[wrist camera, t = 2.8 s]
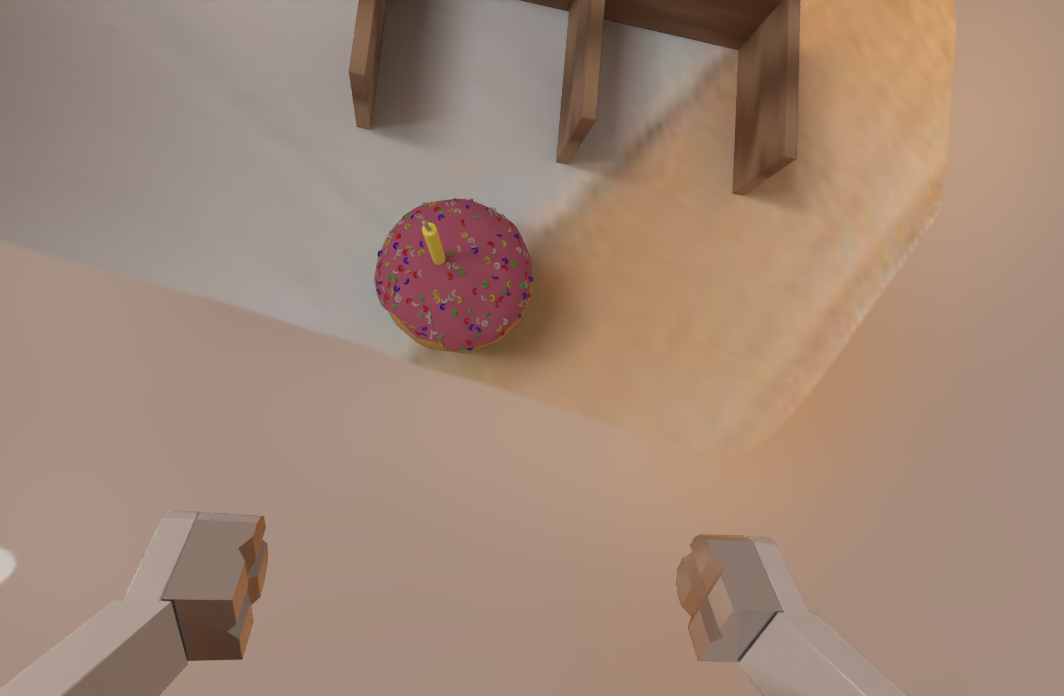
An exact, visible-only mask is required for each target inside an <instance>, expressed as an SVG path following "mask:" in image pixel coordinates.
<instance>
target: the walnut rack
mask: <svg viewBox="0 0 1064 696" xmlns="http://www.w3.org/2000/svg"><path fill="white" fill-rule="evenodd" d="M523 1H527V2H532V3H536V4H541V5H545V6H549V7H554V8H558V9H563V10H567V11H569V19H568V30H567V42H566V54H565V66H564V77H563V89H562V101H561V113H560V124H559V136H558V148H557V160H556V162H561V163H566V164H568V163H569V161H570V160H571V158H572V157H573V155H574V154H575V152H576V150H577V149H578V147H579V146H580V144H581V143H582V141H583V139H584V138H585V136H586V135H587V133H588V131H589V130H590V128H591V127H592V125H593V124H594V122H595V120H596V111H597V98H598V84H599V71H600V58H601V45H602V32H603V19H607V20H611V21H615V22H620V23H624V24H629V25H633V26H637V27H642V28H646V29H650V30H655V31H659V32H664V33H668V34H672V35H677V36H681V37H686V38H690V39H694V40H699V41H703V42H708V43H712V44H716V45H721V46H725V47H730V48H734V49H738V50H739V52H738V76H737V101H736V126H735V151H734V176H733V193H735V194H741V195H744V194H745V193H747V192H748V191H750V190H751V189H753V188H754V187H756V186H757V185H759V184H760V183H761V182H763V181H764V180H766V179H767V178H769V177H770V176H772V175H773V174H775V173H776V172H778V171H779V170H781V169H782V168H784V167H785V166H787V165H788V164H789V163H791V162H792V161H794V160H795V159H796V156H797V116H798V75H799V35H800V0H523ZM386 6H387V0H359V4H358V11H357V18H356V25H355V33H354V40H353V47H352V54H351V61H350V68H349V76H350V82H351V89H352V96H353V103H354V110H355V116H356V123H357V126H358V127H364V128H369V129H370V126H371V119H372V111H373V104H374V96H375V89H376V81H377V74H378V66H379V59H380V51H381V43H382V36H383V28H384V21H385V13H386Z"/></svg>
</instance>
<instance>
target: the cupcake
mask: <svg viewBox="0 0 1064 696" xmlns="http://www.w3.org/2000/svg"><path fill="white" fill-rule="evenodd" d="M471 200H472V201H471ZM422 204H423V205H421V206H419V207H417V208H415V209H413V210H412V211H410V212H409V213H408V214H406V215H404V216H403V218H402V219H401V220H400V221H399V222H398V223H397V224H396V225H395V227H394V228H393V229H392V230H391V231H390V232H389V233H390V234H389V235H388V237H387V239H386V240H385V242H384V245H383V247H382V249H381V251H379V252H378V261H377V267H376V272H375V279H374V283H375V287H376V291H377V295H378V298H379V300H380V303H381V304H382V306H383V307H384V308H385V309H386V310H388V311H389V313H390V315H391V317H392V318H393V320H394V322H395V323H396V324H397V326H398V327H399V328H400V329H402V330H403V331H404V332H405V333H406V334H408V335H409V336H410V337H411V338H412V339H413V340H415V341H416V342H417V343H419V344H420V345H422V346H425V347H427V348H431V349H436V350H442V351H453V352H458V353H469V352H473V351H476V350H478V349H481V348H484V347H487V346H489V345H492V344H494V343H496V342H499V341H500V340H502V339H503V338H504V337H506V336H507V335H508V334H509V333H510V331H511V330H512V329H513V328H514V327H515V326H516V325H517V324H518V323H519V322H520V320H521V319H522V318H523V316H524V314H525V312H526V310H527V307H528V305H529V302H530V298H531V294H532V288H533V278H532V272H531V261H530V257H529V253H528V251H527V248H526V246H525V244H524V241H523V239H522V237H521V235H520V233H519V231H518V229H517V228H516V226H515V225H514V224H513V223H512V222H510V221H509V220H508V219H506V218H505V216H504V215H503V214H502V215H500V214H499V213H497V212H496V209H495V208H488V207H486V206H484V205H481V204H479V203H477V202H474V201H473V199H472V198H471V199H469V200H466V199H452V200H444V201H437V202H431V203H422ZM492 209H494V210H492ZM379 253H380V254H379Z"/></svg>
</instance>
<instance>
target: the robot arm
mask: <svg viewBox="0 0 1064 696" xmlns="http://www.w3.org/2000/svg"><path fill="white" fill-rule="evenodd" d="M265 528H266V527H265V520H264V516H254V515H239V514H222V513H205V512H191V511H190V512H189V511H168V512H167V513H166V514H165V516H164V517H163V518H162V519H161V521H160V523H159V525H158V527H157V529H156V532H155V534H154V536H153V538H152V540H151V542H150V544H149V547H148V548H147V550H146V553H145V555H144V557H143V559H142V561H141V563H140V565H139V567H138V570H137V572H136V574H135V576H134V578H133V580H132V582H131V584H130V586H129V588H128V590H127V593H126V595H125V597H124V599H123V600H112V601H111V602H110V603H108V604H107V605H106V606H105V607H103V608H102V609H101V610H100V611H98V612H97V613H96V614H94V615H93V616H92V617H91V618H89V619H88V620H87V621H86V622H84V623H83V624H82V625H80V626H79V627H78V628H77V629H76V630H74V631H73V632H72V633H70V634H69V635H68V636H67V637H65V638H64V639H63V640H61V641H60V642H59V643H58V644H56V645H55V646H54V647H52V648H51V649H50V650H49V651H47V652H46V653H45V654H44V655H42V656H41V657H40V658H38V659H37V660H36V661H35V662H33V663H32V664H31V665H29V666H28V667H27V668H26V669H24V670H23V671H22V672H21V673H19V674H18V675H17V676H16V677H14V678H13V679H12V680H11V681H9V682H8V683H7V684H5V685H4V686H3V687H2V688H0V696H159V695H160V694H161V693H162V692H163V691H164V689H166V687H167V686H168V685H169V684H170V683H171V682H172V681H173V680H174V679H175V678H176V677H177V676H178V675H179V673H180V672H181V671H182V670H183V669H184V668H185V667H186V666H187V665H188V662H187V661H199V660H201V661H202V660H242V659H243V656H244V652H245V649H246V645H247V642H248V638H249V635H250V631H251V628H252V624H253V615H252V606H251V605H252V604H253V603H254V602H255V601H256V600H257V599H259V598H260V596H261V592H262V589H263V585H264V580H265V575H266V569H267V562H268V547H267V543H266V542H265V541H264V540H262V539H263V535H264V532H265ZM690 546H691V549H692V552H693V553H691V554H689V555H688V556H686V557H684V558H683V559H682V561H681V563H680V565H679V567H678V570H677V579H676V585H677V593H678V597H679V600H680V604H681V606H682V607H683V608H684V609H685V610H686V611H687V612H688V613H689V615H691V620H690V623H689V625H688V630H689V633H690V637H691V639H692V643H693V646H694V649H695V653H696V656H697V659H698V661H717V662H718V661H719V662H720V661H721V662H739V663H738V665H739V667H740V668H741V669H742V670H743V672H744V673H745V674H746V675H747V677H748V678H749V679H750V680H751V682H752V683H753V684H754V685H755V686H756V688H757V689H758V690H759V691H760V693H761V694H762V695H763V696H908V695H907V694H906V693H904V692H903V691H902V690H901V689H900V688H899V687H898V686H897V685H896V684H894V683H893V682H892V681H891V680H889V678H888V677H887V676H886V675H884V674H883V673H882V672H881V671H880V670H879V669H878V668H877V667H875V666H874V665H873V664H872V663H871V662H870V661H869V660H868V659H867V658H865V657H864V656H863V655H862V654H861V653H860V652H859V651H858V650H857V649H855V648H854V647H853V646H852V645H851V644H850V643H849V642H848V641H846V640H845V639H844V638H843V637H842V636H841V635H840V634H839V633H837V631H835V630H834V629H833V628H832V627H831V626H830V625H829V624H828V623H826V622H825V621H824V620H823V619H822V618H821V617H820V616H819V615H817V613H809V611H808V609H807V606H806V605H805V602H804V600H803V598H802V596H801V594H800V592H799V590H798V588H797V586H796V584H795V582H794V580H793V578H792V576H791V573H790V571H789V569H788V567H787V565H786V563H785V561H784V559H783V557H782V555H781V553H780V551H779V549H778V546H777V544H776V543H775V542H774V541H773V540H772V539H771V538H768V537H745V536H738V535H701V534H700V535H698V536H696V537H695V538H694V540H693V541H692V543H691V545H690Z"/></svg>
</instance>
